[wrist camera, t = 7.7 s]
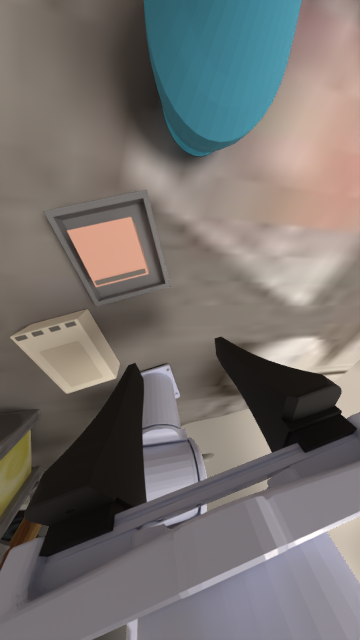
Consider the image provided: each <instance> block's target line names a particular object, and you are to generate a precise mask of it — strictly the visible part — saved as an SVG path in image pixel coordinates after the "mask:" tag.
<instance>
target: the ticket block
mask: <svg viewBox="0 0 360 640" xmlns="http://www.w3.org/2000/svg"><path fill="white" fill-rule="evenodd" d="M10 338H11V339H12V340H13V341H14V342H15V343H16V344H17V345H18V346H19V347H20V348H21V349H22V350H23V351H24V352H25V353H26V354H27V355H28V356H29V357H30V358H31V359H32V360H33V361H34V362H35V363H36V364H37V365H38V366H39V367H40V368H41V369H42V370H43V371H44V372H45V373H46V374H47V375H48V376H49V377H50V378H51V379H52V380H53V381H54V382H55V383H56V384H57V385H58V386H59V387H60V388H61V389H62V390H63V391H64V392H65V393H66V394H68V393H71V392H74V391H77V390H81V389H84V388H87V387H90V386H93V385H96V384H100V383H103V382H106V381H109V380H112V379H116V377H117V373H118V369H119V365H120V363H119V361H118V359H117V358H116V356H115V354H114V353H113V351H112V349H111V348H110V346H109V344H108V343H107V341H106V339H105V337H104V336H103V334H102V332H101V331H100V329H99V327H98V326H97V324H96V322H95V320H94V319H93V317H92V315H91V314H90V312H89V310H88V309H86V310H82V311H78V312H74V313H71V314H67V315H63V316H60V317H56V318H52V319H48V320H45V321H41V322H37V323H34V324H31V325H29V326H27V327H26V328H24V329H22V330H21V331H19V332H18V333H16V334H14V335H13V336H11V337H10Z"/></svg>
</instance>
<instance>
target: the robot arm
mask: <svg viewBox="0 0 360 640" xmlns="http://www.w3.org/2000/svg"><path fill="white" fill-rule="evenodd" d="M215 346H216V355H217V357H218V359H219V361H220V363H221V365H222V366H223V368H224V369H225V371H226V372H227V374H228V375H229V377H230V378H231V379H232V381H233V382H234V384H235V385H236V387H237V388H238V390H239V391H240V393H241V395H242V396H243V398H244V400H245V402H246V403H247V405H248V407H249V409H250V411H251V412H252V414H253V416H254V418H255V420H256V422H257V424H258V426H259V428H260V429H261V431H262V433H263V435H264V437H265V439H266V441H267V443H268V445H269V447H270V449H271V451H272V453H270V454H268V455H265V456H263V457H260V458H258V459H255V460H252V461H250V462H247V463H245V464H242V465H240V466H237V467H235V468H232V469H230V470H227V471H225V472H222V473H220V474H217V475H214V476H212V477H209V478H207V475H206V470H205V465H204V461H203V457H202V454H201V451H200V449H199V447H198V445H197V444H196V443H195V441H194V440H193V439H192V438H187V435H186V430H185V429H181V425H180V420H179V414H178V409H177V403H176V398H178V397H180V394H179V391H178V388H177V386H176V383H175V380H174V377H173V374H172V371H171V369H170V366H169V365H168V364H166V365H163V366H160V367H156V368H153V369H150V370H147V371H144V372H141V373H140V371H139V369H138V367H137V365H136V363H134V364H131V365H128V367H127V369H126V371H125V372H124V374H123V376H122V378H121V380H120V381H119V383H118V385H117V386H116V388H115V390H114V391H113V393H112V395H111V396H110V398H109V399H108V401H107V402H106V404H105V405H104V407H103V408H102V409H101V411H100V412H99V413H98V415H97V416H96V417H95V419H94V420H93V421H92V422H91V423H90V425H89V426H88V427H87V428H86V430H85V431H84V432H83V433H82V434H81V435H80V437H79V438H78V439H77V440H76V441H75V442H74V443H73V444H72V445H71V446H70V447H69V449H68V450H67V451H66V452H65V453H64V454H63V455H62V456H61V457H60V458H59V459H58V460H57V461H56V462H55V463H54V464H53V465H52V466H51V467H50V468H49V469H48V470H47V471H46V472H45V473H44V474H43V475H42V477H41V479H40V482H39V484H38V486H37V488H36V490H35V492H34V494H33V496H32V498H31V500H30V503H29V505H28V507H27V509H26V511H25V514H24V517H25V519H26V520H27V521H30V522H33V523H37V524H42V525H47V526H49V528H48V531H47V534H46V537H40V538H37V539H34V540H31V541H29V542H26V543H24V544H21V545H18V546H16V547H13V548H12V549H11V550H10V552H9V554H8V556H7V558H6V560H5V562H4V565H3V567H2V569H1V571H0V640H92V639H94V638H97V637H99V636H101V635H103V634H105V633H108V632H110V631H112V630H114V629H116V628H118V627H121V626H123V625H125V624H127V633H126V640H360V584H359V582H358V580H357V579H356V577H355V575H354V574H353V572H352V571H351V569H350V568H349V566H348V564H347V563H346V561H345V560H344V558H343V557H342V555H341V553H340V552H339V550H338V549H337V547H336V545H335V544H334V542H333V541H332V539H331V538H330V537H329V535H328V534H327V531H329V530H331V529H333V528H335V527H337V526H339V525H341V524H343V523H346V522H348V521H350V520H352V519H354V518H356V517H359V516H360V412H359V413H357V414H354V415H352V416H350V417H348V418H347V419H346V418H344V417H343V416H342V415H341V413H342V411H341V410H340V409H339V408H337V407H336V406H335V404H336V402H337V401H338V399H339V397H340V395H341V388H340V387H339V386H338V385H336V384H335V383H334V382H332V381H331V380H329V379H328V378H326V377H325V376H323V375H322V374H317V373H312V372H307V371H303V370H299V369H295V368H291V367H287V366H284V365H281V364H278V363H275V362H272V361H269V360H266V359H264V358H261V357H259V356H256V355H254V354H252V353H250V352H248V351H246V350H244V349H242V348H240V347H238V346H236V345H234V344H233V343H231V342H229V341H228V340H226V339H224V338H222V337H218V338H215ZM271 477H272V478H271ZM269 478H270V479H269ZM266 479H269V480H268V481H267V484H268V486H269V487H268V488H267V489H266V490H264V491H261V492H258V493H254V494H251V495H249V496H246V497H243V498H240V499H237V500H235V501H232V502H229V503H227V504H224V505H222V506H219V507H217V508H215V509H212V510H210V511H208V512H207V504H208V503H210V502H213V501H215V500H217V499H220V498H222V497H225V496H227V495H230V494H232V493H235V492H237V491H239V490H242V489H244V488H247V487H249V486H251V485H254V484H256V483H259V482H261V481H264V480H266Z"/></svg>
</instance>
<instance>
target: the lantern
mask: <svg viewBox="0 0 360 640" xmlns="http://www.w3.org/2000/svg"><path fill="white" fill-rule="evenodd" d="M39 420H40V410H31V411H20V412H9V413H0V539H1V538H2V536H3V534H4V533H5V531H6V530H7V528H8V526H9V525H10V523H11V522H12V520H13V519H14V517H15V515H16V514H17V512H18V511H19V509H20V507H21V506H22V504H23V503H24V501H25V499H26V498H27V496H28V495H29V493H30V500H31V498H32V496H33V494H34V492H35V490H36V488H37V486H38V484H39V482H40V481H39V482H38V483H37V484H36V482H37V480H38V479H39V477H40V476H41V466H36V467H31V428H32V427H33V426H34V425H35V424H36V423H37V422H38V421H39ZM35 484H36V485H35ZM34 485H35V486H34ZM41 525H42V524H37V523H33V522H30V521H27V520H26V519H25V517H24V519H23V521H22V522H21V524H20V526H19V528H18V529H17V531H16V533H15V534H14V536H13V538H12V539H11V541H10V543H7V542H5V541H3V540H0V571H1V569H2V567H3V565H4V562H5V560H6V558H7V556H8V554H9V552H10V550H11V549H12V548H13V547H16V546H18V545H21V544H24V543H26V542H29V541H31V540H34V539H35V537H36V535H37V533H38V531H39V529H40V527H41Z"/></svg>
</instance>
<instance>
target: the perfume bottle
mask: <svg viewBox="0 0 360 640" xmlns="http://www.w3.org/2000/svg"><path fill="white" fill-rule="evenodd" d="M301 1H302V0H144V13H145V25H146V35H147V42H148V49H149V56H150V61H151V65H152V69H153V74H154V78H155V81H156V85H157V89H158V93H159V96H160V99H161V103H162V107H163V113H164V117H165V121H166V124H167V126H168V129H169V131H170V133H171V135H172V136H173V138H174V140H175V141H176V143H177V144H178V145H179V146H180V147H181V148H182V149H183V150H184V151H186V152H187V153H189V154H191V155H195V156H205V155H208V154H210V153H212V152H214V151H216V150H220V149H223V148H225V147H227V146H230V145H232V144H234V143H236V142H237V141H239V140H240V139H241V138H243V137H244V136H245V135H246V134H247V133H248V132H249V131H251V130H252V129H253V128H254V126H255V125H256V124H257V123H258V122H259V121H260V120H261V119H262V117H263V116H264V114H265V113H266V111H267V110H268V108H269V106H270V105H271V103H272V102H273V99H274V97H275V95H276V93H277V91H278V88H279V86H280V84H281V81H282V78H283V75H284V72H285V69H286V66H287V63H288V59H289V54H290V50H291V46H292V42H293V37H294V33H295V29H296V24H297V20H298V15H299V11H300V6H301Z"/></svg>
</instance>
